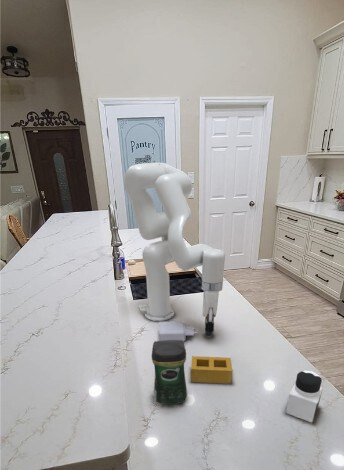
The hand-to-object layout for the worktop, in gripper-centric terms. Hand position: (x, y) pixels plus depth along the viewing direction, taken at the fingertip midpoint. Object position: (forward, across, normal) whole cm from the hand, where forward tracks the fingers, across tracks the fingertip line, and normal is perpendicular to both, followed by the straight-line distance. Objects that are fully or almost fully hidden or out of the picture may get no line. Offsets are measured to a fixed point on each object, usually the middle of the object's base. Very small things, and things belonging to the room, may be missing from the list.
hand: (209, 328), depth 125 cm
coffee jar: (+3, +36, -11) cm, 37 cm away
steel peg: (+3, 0, 0) cm, 3 cm away
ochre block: (+3, +25, +1) cm, 25 cm away
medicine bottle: (+2, +38, +26) cm, 46 cm away
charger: (+4, +2, -11) cm, 12 cm away
